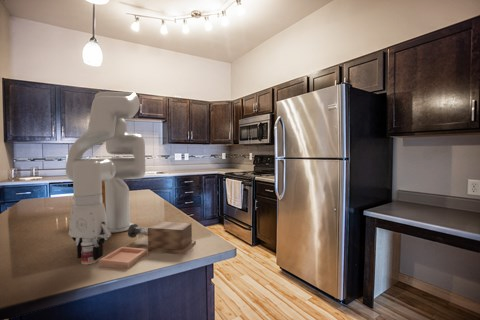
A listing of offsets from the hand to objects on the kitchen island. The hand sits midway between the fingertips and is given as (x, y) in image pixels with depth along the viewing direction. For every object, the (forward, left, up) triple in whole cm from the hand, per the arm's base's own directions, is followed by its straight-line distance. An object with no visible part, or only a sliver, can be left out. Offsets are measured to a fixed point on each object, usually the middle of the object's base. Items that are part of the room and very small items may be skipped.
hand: (90, 256), depth 75 cm
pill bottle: (0, 0, -2) cm, 2 cm away
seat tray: (+10, +3, -1) cm, 11 cm away
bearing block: (+16, +15, -1) cm, 22 cm away
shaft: (+10, +15, +1) cm, 18 cm away
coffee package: (-34, +40, -2) cm, 53 cm away
